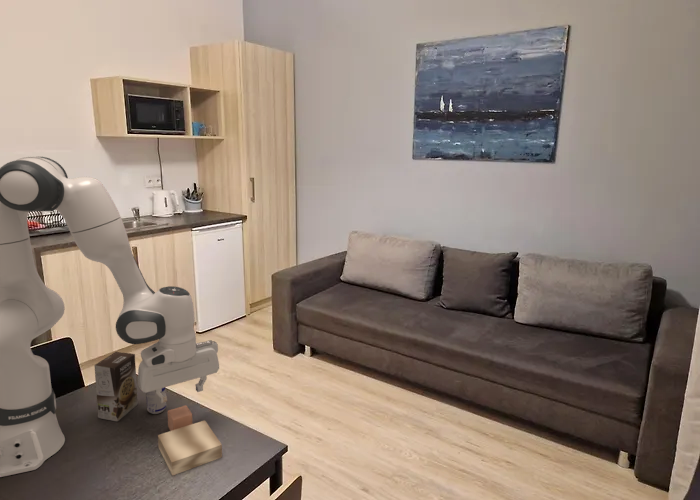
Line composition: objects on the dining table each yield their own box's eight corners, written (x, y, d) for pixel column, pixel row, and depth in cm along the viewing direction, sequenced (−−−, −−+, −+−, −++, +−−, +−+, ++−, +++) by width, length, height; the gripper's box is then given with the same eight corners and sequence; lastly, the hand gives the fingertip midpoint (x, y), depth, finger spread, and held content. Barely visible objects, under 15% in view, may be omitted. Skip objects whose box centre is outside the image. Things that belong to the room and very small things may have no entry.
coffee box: (118, 422, 129) (114, 368, 125) (97, 418, 130) (92, 365, 127) (139, 404, 138) (135, 353, 134) (119, 400, 139) (115, 350, 135)
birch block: (172, 477, 111) (171, 462, 110) (158, 448, 120) (157, 435, 119) (222, 458, 118) (221, 444, 117) (205, 433, 127) (204, 420, 126)
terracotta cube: (173, 436, 125) (172, 419, 123) (168, 426, 128) (167, 410, 127) (192, 430, 127) (192, 414, 126) (186, 421, 131) (186, 405, 130)
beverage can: (170, 409, 136) (167, 361, 133) (154, 417, 132) (151, 368, 128) (158, 403, 139) (156, 356, 135) (143, 411, 135) (140, 363, 131)
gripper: (213, 334, 131) (215, 379, 134) (133, 353, 119) (138, 402, 122) (221, 342, 126) (224, 389, 129) (139, 362, 114) (144, 413, 117)
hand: (181, 395), depth 126 cm, fingers open, 8 cm apart
